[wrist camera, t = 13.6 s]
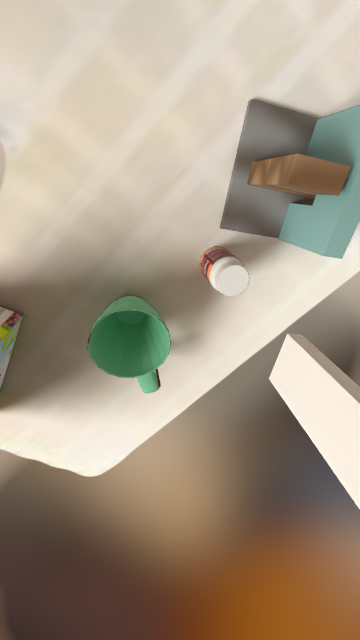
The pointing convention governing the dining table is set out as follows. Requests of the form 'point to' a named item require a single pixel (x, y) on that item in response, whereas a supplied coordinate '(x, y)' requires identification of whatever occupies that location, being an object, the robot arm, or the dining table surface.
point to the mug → (130, 341)
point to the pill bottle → (224, 271)
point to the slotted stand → (275, 170)
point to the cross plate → (329, 210)
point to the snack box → (7, 337)
